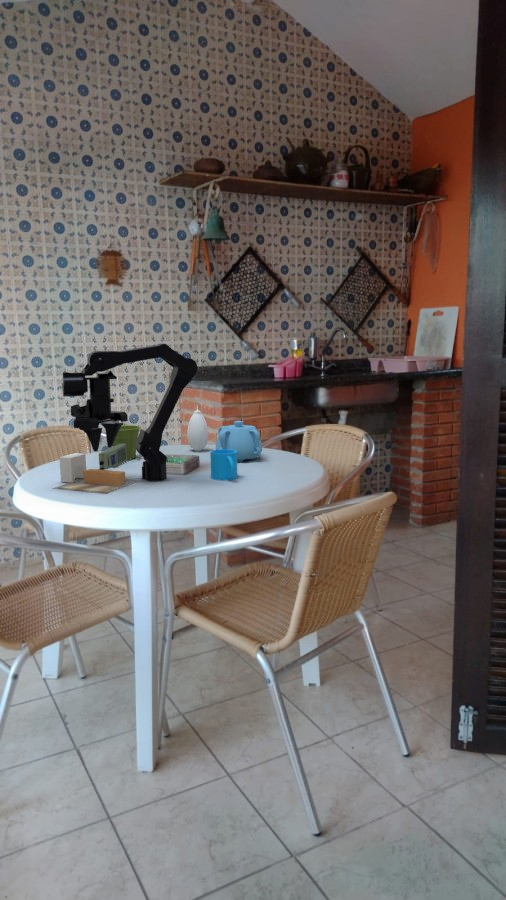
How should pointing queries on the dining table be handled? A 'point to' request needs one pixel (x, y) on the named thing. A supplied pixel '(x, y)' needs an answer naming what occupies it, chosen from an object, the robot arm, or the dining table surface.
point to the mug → (223, 464)
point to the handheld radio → (113, 456)
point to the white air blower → (197, 431)
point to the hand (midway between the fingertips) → (102, 449)
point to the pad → (89, 488)
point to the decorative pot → (240, 440)
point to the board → (81, 481)
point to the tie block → (72, 467)
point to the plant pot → (128, 439)
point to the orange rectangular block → (104, 477)
